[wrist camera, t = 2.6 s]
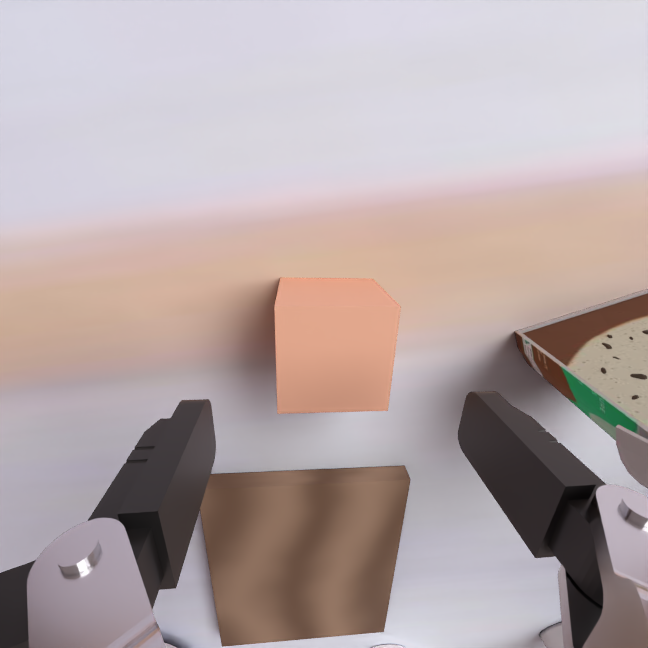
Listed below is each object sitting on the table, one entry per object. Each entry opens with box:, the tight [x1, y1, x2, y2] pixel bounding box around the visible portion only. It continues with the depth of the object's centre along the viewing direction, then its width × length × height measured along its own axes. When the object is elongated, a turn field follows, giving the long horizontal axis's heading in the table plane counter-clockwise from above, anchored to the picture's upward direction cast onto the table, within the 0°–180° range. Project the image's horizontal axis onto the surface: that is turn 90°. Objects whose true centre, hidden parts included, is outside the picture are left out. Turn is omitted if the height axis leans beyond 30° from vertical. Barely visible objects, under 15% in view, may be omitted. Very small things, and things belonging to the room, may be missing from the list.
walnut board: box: [200, 466, 410, 646], centre depth 24 cm, size 14×18×1 cm
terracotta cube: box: [274, 278, 401, 414], centre depth 15 cm, size 5×5×5 cm
